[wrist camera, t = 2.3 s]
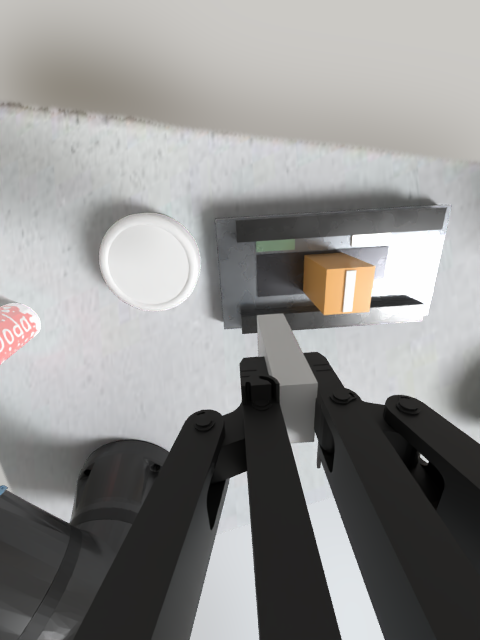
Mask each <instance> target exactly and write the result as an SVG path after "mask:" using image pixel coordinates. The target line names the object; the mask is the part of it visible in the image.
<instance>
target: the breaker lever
mask: <svg viewBox="0 0 480 640" xmlns="http://www.w3.org/2000/svg"><path fill="white" fill-rule="evenodd" d="M374 273H375V266H374V265H371V264H369V263H366V262H364V261H362V260H359V259H357V258H354V257H352V256H349V255H347V254H345V253H327V254H312V255H304V280H303V292H304V293H305V294H306V296H307V297H308V298H309V299H310V300H311V301H312V302H313V303H314V305H315V306H316V307H317V308H318V309H319V310H320V311H321V312H322V314H323V315H332V314H347V313H361V312H369V310H370V303H371V295H372V288H373V281H374Z"/></svg>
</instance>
